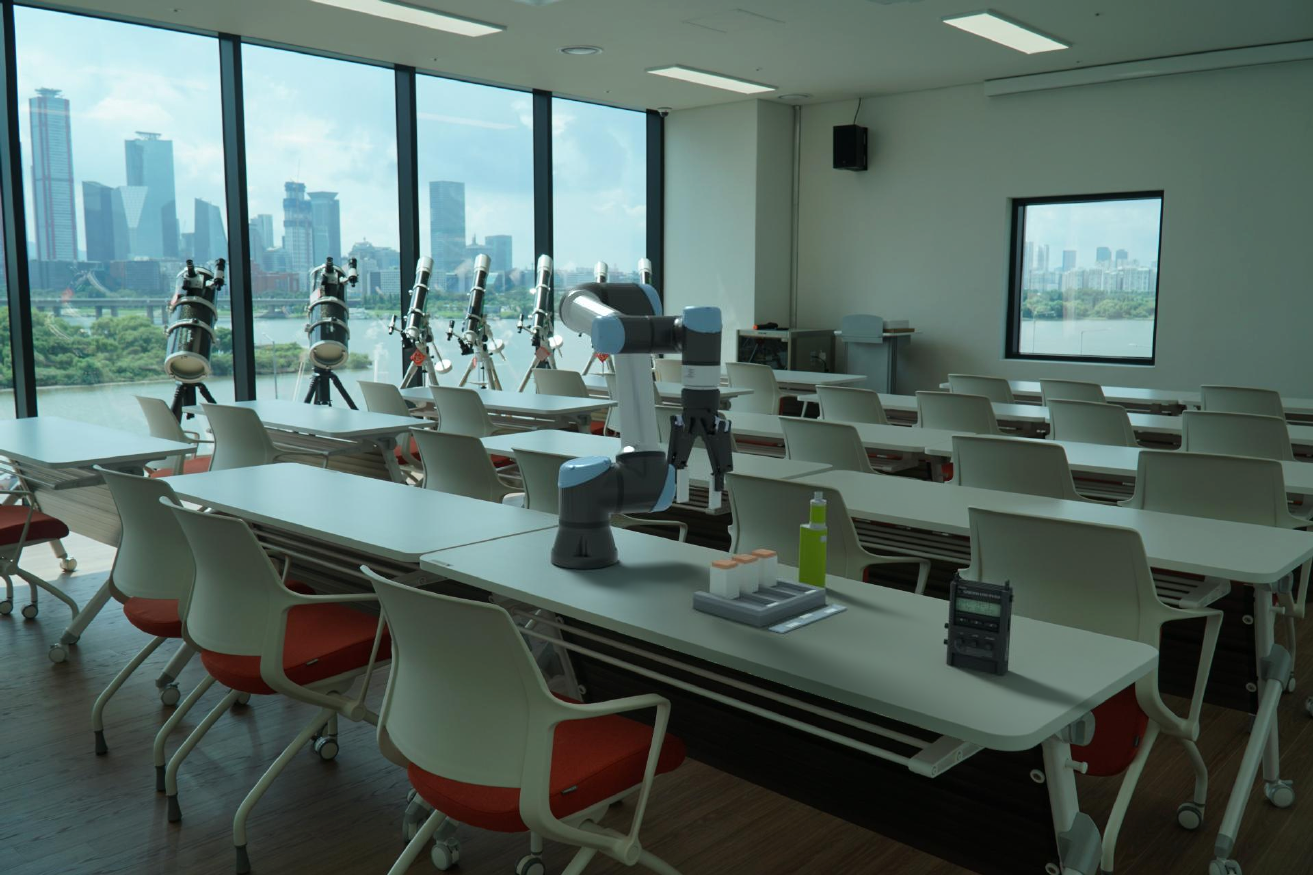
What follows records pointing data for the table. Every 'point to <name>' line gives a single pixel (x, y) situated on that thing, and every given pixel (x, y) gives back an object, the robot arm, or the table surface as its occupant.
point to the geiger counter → (979, 625)
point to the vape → (814, 545)
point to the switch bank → (763, 602)
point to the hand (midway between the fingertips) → (698, 504)
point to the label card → (807, 618)
